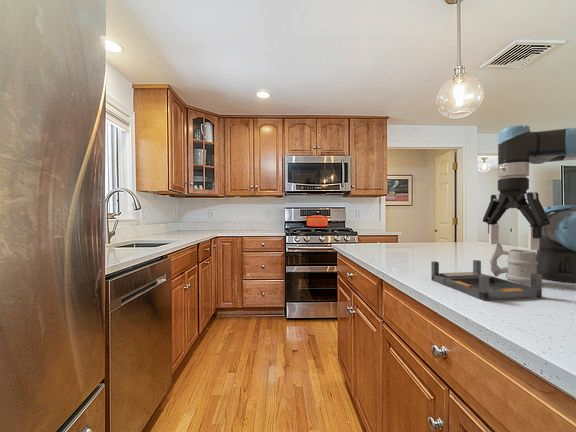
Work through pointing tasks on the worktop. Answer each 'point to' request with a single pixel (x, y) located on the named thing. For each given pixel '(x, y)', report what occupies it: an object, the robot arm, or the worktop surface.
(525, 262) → the mug
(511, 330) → the worktop surface
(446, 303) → the worktop surface
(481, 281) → the tray
